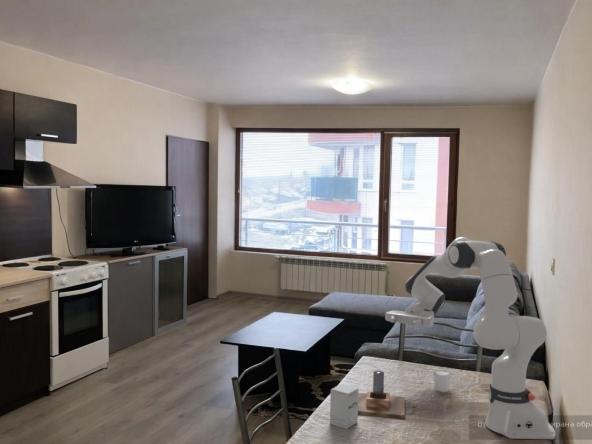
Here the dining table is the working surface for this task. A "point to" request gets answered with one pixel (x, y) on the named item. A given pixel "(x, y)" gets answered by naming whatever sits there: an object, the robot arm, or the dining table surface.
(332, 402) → the supplement box
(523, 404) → the robot arm
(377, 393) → the peg
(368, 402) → the keeper board
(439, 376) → the shot glass
